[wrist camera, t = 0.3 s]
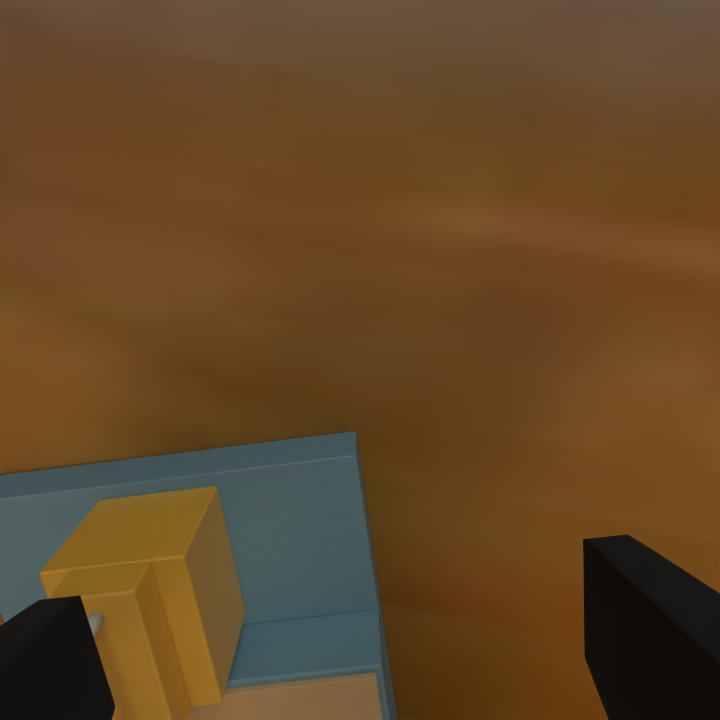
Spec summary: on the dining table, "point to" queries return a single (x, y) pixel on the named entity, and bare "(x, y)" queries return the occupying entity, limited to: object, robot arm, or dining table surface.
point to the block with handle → (156, 598)
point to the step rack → (245, 566)
